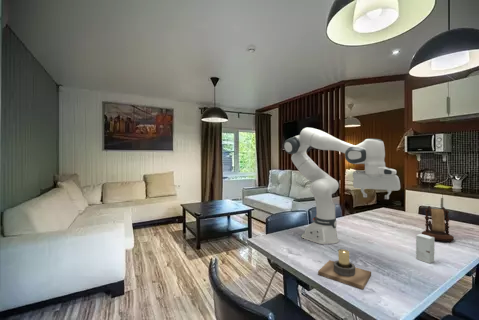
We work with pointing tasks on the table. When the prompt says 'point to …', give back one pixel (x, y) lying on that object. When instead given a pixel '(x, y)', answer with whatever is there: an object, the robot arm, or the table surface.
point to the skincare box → (425, 248)
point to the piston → (343, 258)
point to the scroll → (438, 224)
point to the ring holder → (345, 274)
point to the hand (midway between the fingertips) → (375, 198)
